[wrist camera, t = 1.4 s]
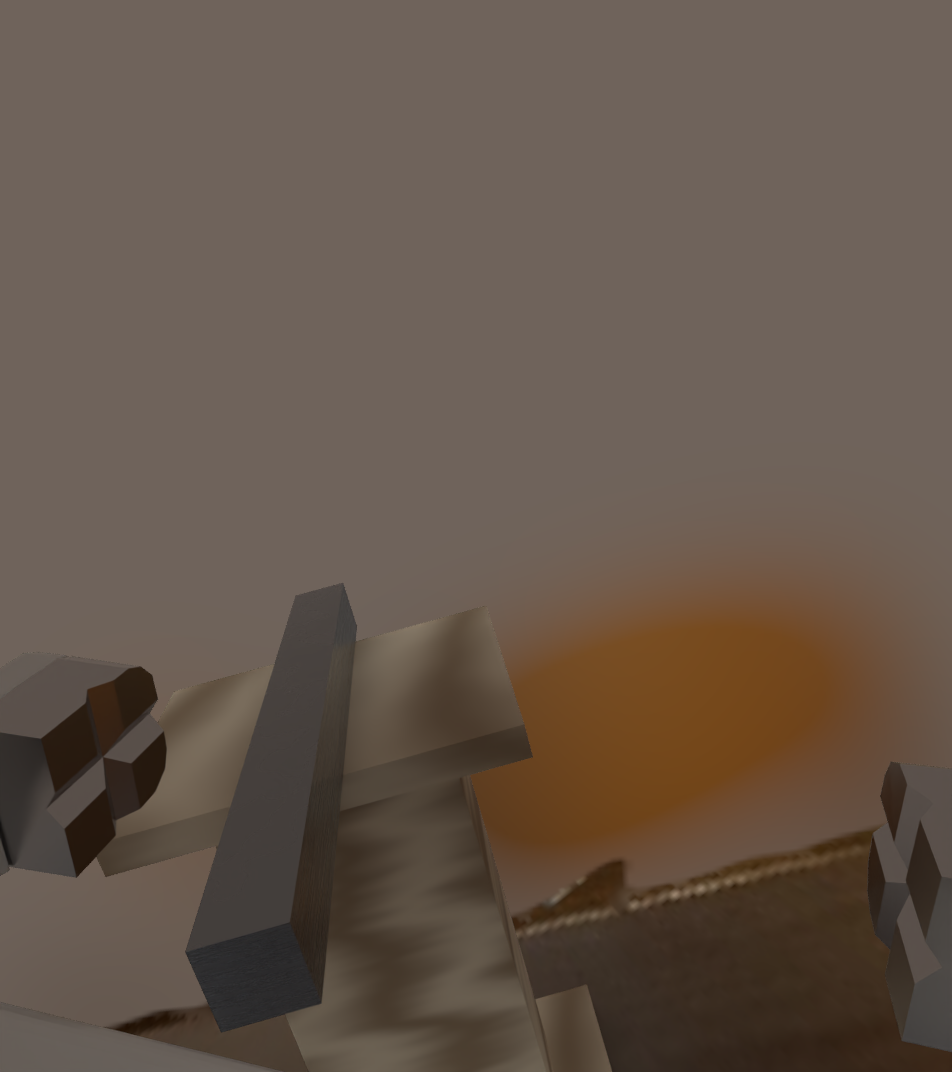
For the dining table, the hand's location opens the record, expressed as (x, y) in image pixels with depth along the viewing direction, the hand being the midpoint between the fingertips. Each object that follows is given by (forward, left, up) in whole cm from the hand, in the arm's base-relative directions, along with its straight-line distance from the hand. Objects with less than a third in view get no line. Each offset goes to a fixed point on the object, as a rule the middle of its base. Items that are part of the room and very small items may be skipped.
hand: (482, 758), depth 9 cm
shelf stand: (+7, -24, -37) cm, 44 cm away
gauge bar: (+7, -20, -11) cm, 24 cm away
